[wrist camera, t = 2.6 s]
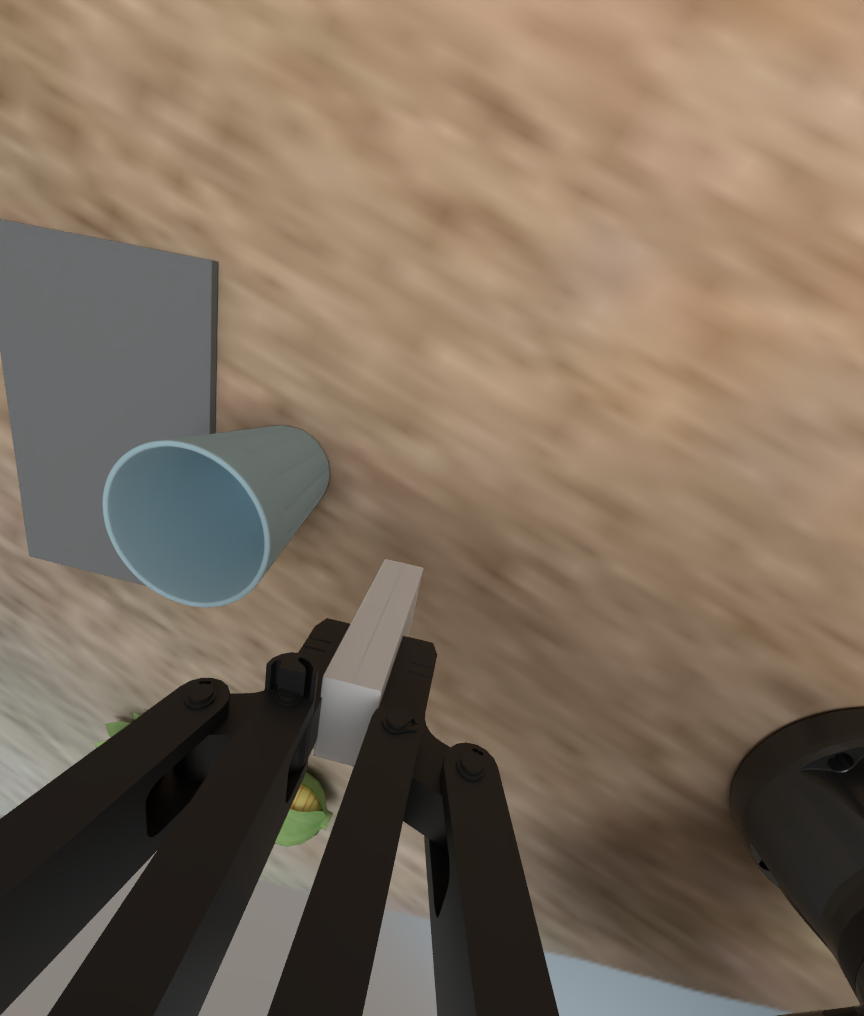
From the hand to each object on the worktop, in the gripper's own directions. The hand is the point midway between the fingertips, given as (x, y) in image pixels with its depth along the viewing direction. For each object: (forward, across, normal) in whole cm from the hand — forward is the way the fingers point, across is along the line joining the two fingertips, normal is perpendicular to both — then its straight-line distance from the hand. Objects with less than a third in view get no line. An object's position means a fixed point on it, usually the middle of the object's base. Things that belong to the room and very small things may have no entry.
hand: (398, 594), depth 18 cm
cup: (+12, +10, 0) cm, 15 cm away
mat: (+12, +22, 0) cm, 25 cm away
